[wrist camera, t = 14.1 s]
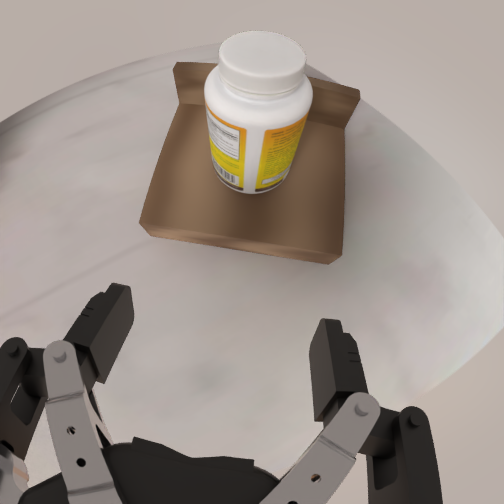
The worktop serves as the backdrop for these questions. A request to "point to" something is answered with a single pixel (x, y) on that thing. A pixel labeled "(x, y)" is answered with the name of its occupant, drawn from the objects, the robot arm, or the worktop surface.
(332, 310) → the worktop surface
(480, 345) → the worktop surface
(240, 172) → the supplement bottle
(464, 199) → the worktop surface
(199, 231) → the walnut shelf step
